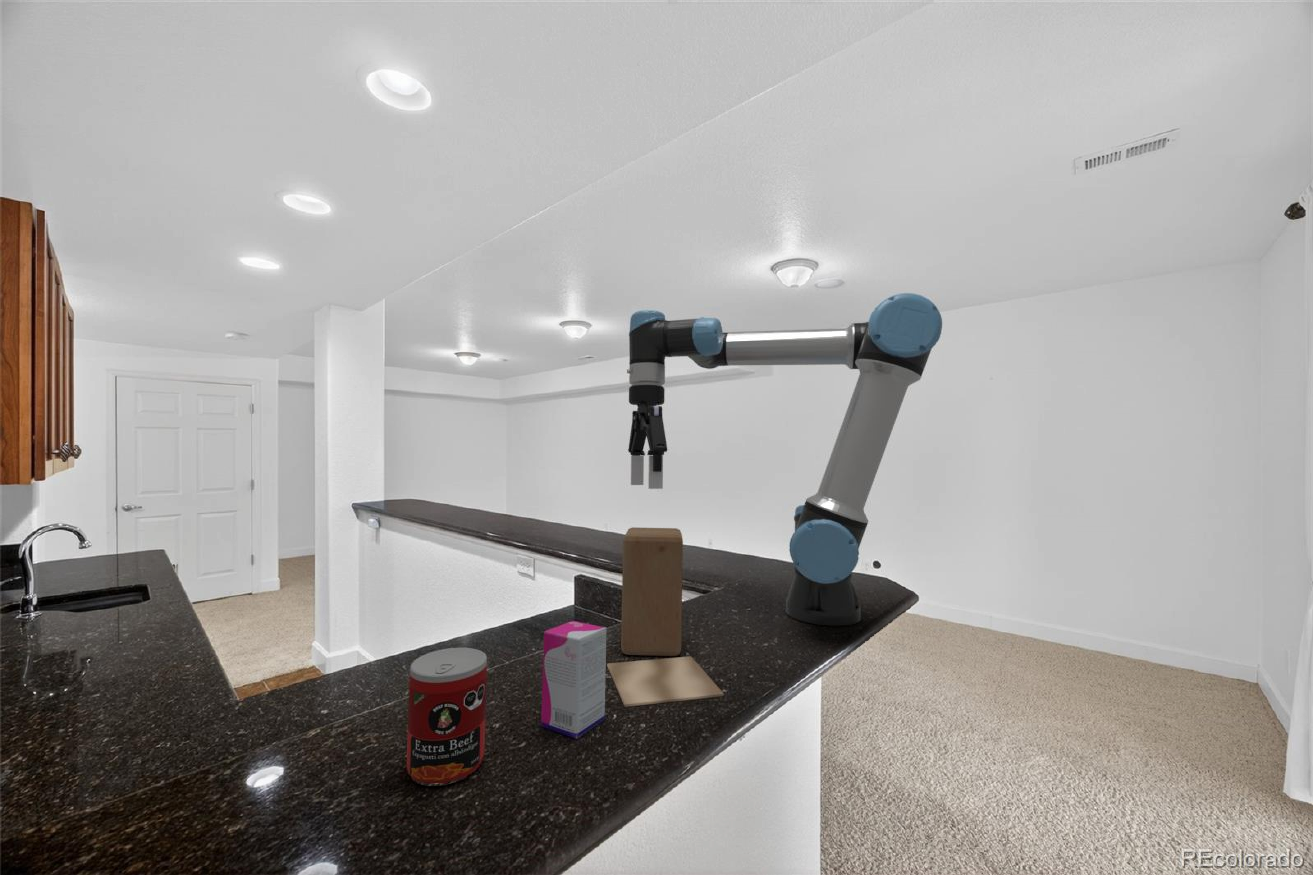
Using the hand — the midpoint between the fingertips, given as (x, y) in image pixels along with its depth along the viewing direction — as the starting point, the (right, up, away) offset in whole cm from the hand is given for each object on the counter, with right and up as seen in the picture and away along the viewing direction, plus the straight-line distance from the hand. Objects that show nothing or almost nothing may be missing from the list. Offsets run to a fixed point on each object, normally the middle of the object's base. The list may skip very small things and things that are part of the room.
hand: (645, 486), depth 110 cm
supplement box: (-8, -25, -45) cm, 52 cm away
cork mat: (+3, -26, -32) cm, 41 cm away
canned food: (-20, -25, -55) cm, 63 cm away
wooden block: (+1, -26, -19) cm, 32 cm away
